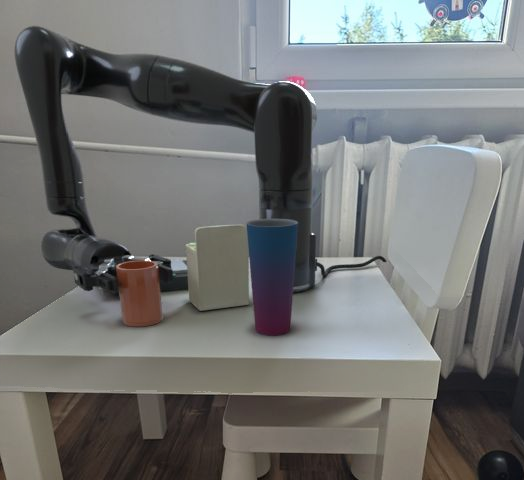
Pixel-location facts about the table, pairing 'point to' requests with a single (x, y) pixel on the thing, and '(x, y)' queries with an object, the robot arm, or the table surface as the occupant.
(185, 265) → the scale
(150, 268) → the tumbler
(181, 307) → the table surface
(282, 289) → the cup
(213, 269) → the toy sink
